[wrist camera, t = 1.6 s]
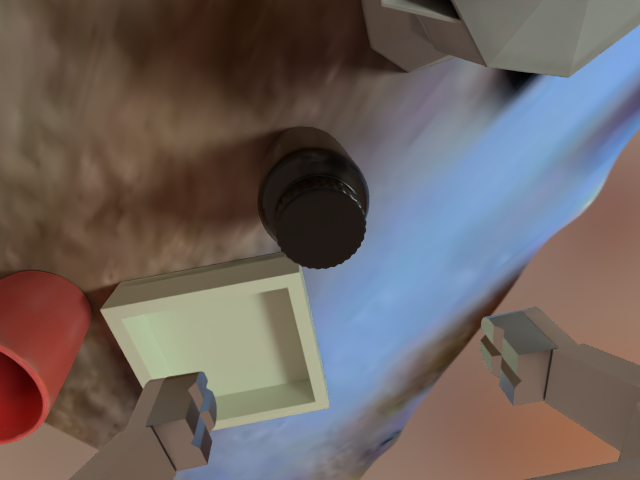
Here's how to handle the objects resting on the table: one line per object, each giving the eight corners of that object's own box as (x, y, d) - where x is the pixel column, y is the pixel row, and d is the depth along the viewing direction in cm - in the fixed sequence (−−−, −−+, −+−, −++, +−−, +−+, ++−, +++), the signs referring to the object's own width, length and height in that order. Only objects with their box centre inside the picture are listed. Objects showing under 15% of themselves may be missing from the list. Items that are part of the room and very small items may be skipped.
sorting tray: (120, 282, 32) (100, 309, 28) (297, 248, 32) (299, 272, 29) (180, 404, 39) (170, 438, 36) (325, 376, 39) (329, 407, 36)
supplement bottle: (288, 221, 31) (291, 305, 20) (246, 150, 28) (223, 205, 17) (360, 185, 30) (404, 252, 19) (325, 108, 27) (352, 137, 16)
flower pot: (-31, 331, 33) (-144, 427, 24) (-12, 233, 29) (-139, 305, 20) (92, 365, 36) (31, 462, 27) (123, 280, 32) (63, 361, 23)
